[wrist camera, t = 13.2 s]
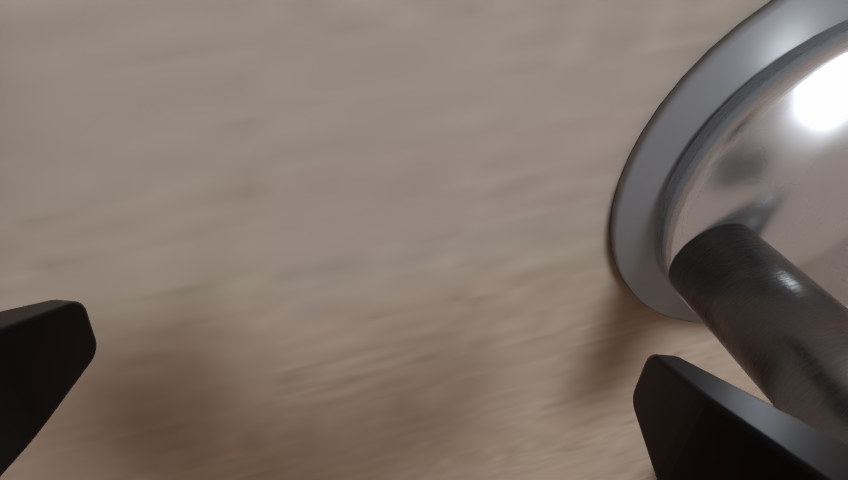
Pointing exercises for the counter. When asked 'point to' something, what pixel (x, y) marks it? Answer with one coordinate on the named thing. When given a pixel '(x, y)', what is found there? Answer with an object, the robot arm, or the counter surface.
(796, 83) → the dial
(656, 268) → the dial base
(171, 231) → the counter surface
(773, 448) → the robot arm
